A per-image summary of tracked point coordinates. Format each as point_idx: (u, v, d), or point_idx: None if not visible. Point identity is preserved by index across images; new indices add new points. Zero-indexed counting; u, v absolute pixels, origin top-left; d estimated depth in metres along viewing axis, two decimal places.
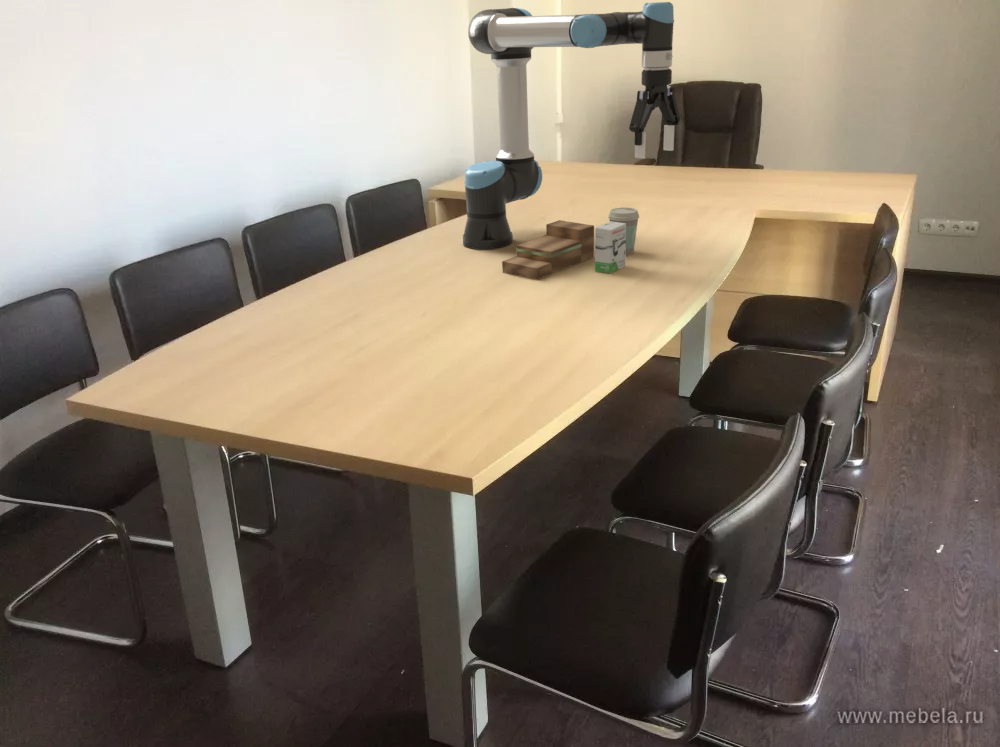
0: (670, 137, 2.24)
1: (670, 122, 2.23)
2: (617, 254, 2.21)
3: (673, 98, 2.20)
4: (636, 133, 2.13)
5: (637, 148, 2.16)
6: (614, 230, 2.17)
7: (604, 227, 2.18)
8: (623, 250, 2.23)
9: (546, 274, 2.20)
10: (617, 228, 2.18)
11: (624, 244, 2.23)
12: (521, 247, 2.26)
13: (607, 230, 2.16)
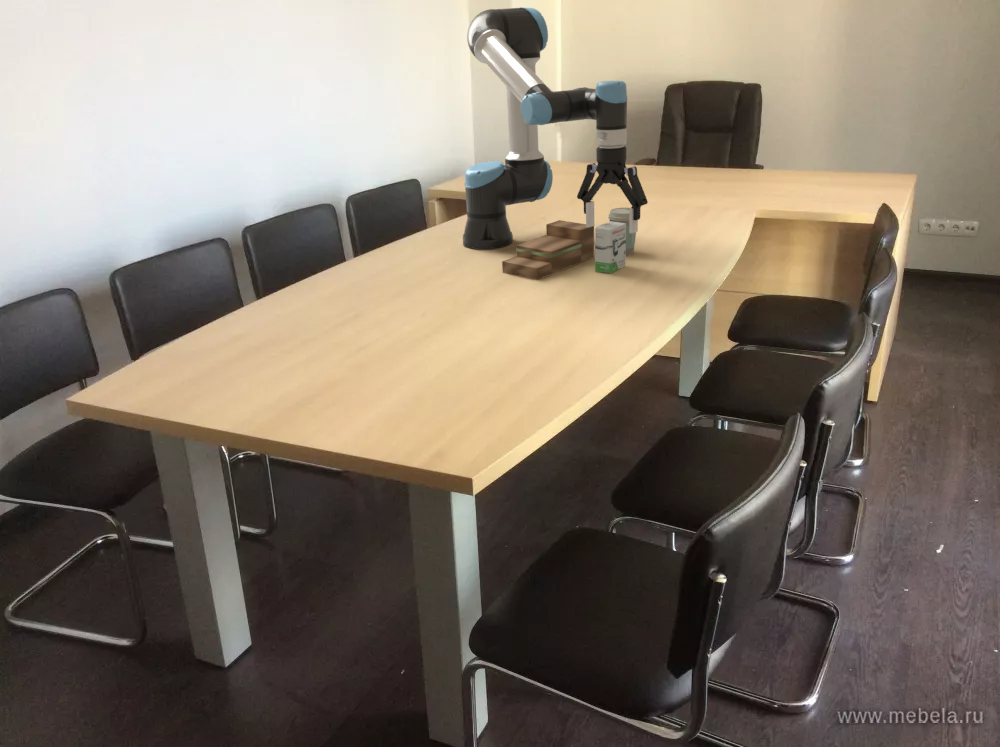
0: None
1: None
2: (617, 254, 2.21)
3: (630, 180, 2.10)
4: None
5: None
6: (614, 230, 2.17)
7: (604, 227, 2.18)
8: (623, 250, 2.23)
9: (546, 274, 2.20)
10: (617, 228, 2.18)
11: (624, 244, 2.23)
12: (521, 247, 2.26)
13: (607, 230, 2.16)
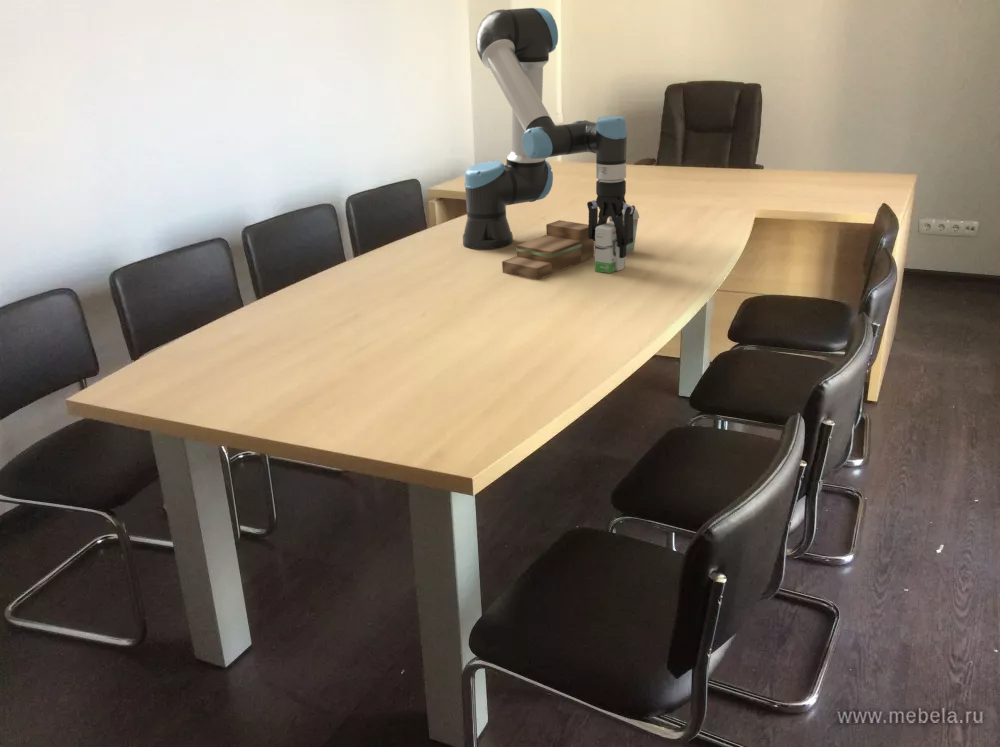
0: None
1: None
2: None
3: (625, 218, 2.14)
4: None
5: None
6: (614, 230, 2.17)
7: (604, 227, 2.18)
8: None
9: (546, 274, 2.20)
10: None
11: None
12: (521, 247, 2.26)
13: (607, 230, 2.16)
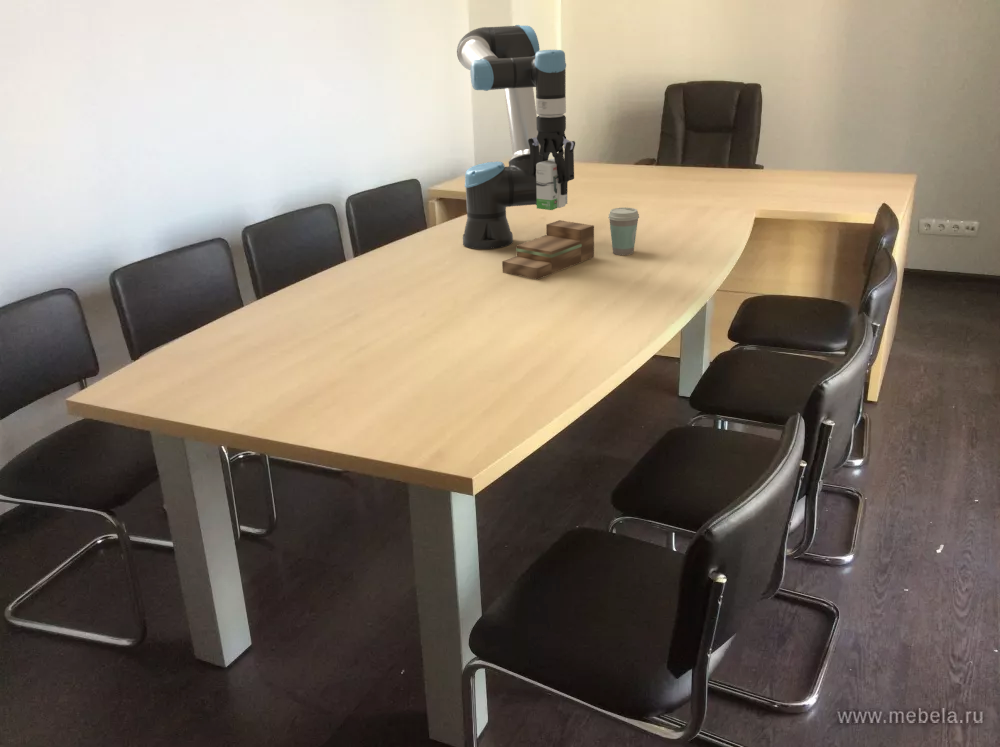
0: None
1: None
2: None
3: (565, 153, 2.14)
4: None
5: None
6: (555, 166, 2.17)
7: (545, 163, 2.17)
8: None
9: (546, 274, 2.20)
10: None
11: None
12: (521, 247, 2.26)
13: (547, 166, 2.16)
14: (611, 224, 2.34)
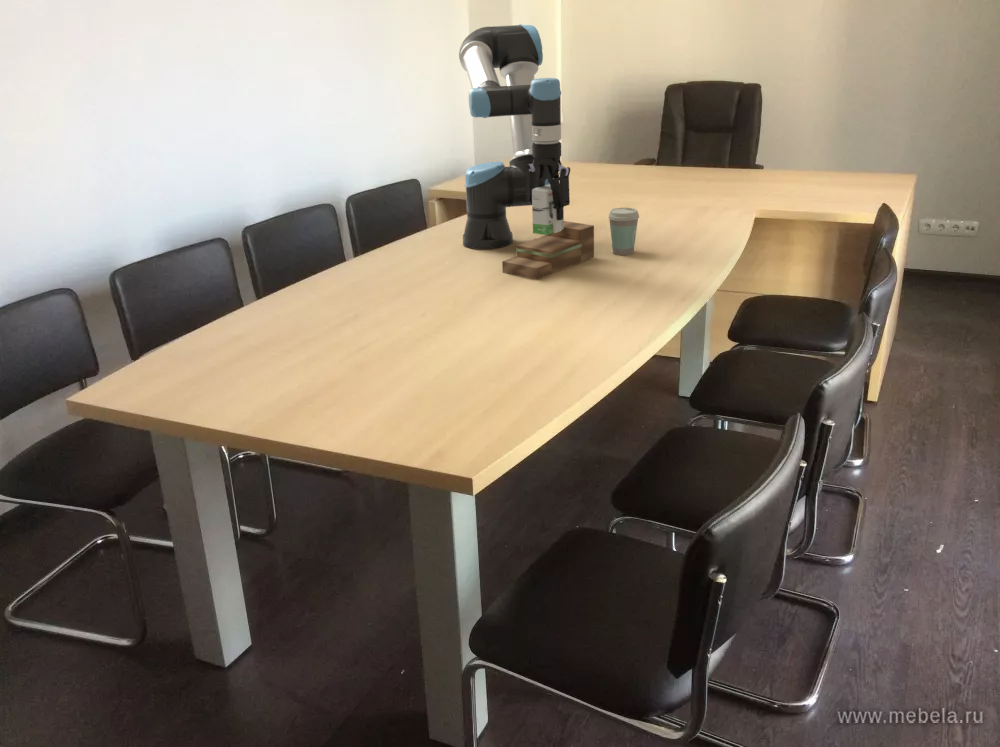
0: None
1: None
2: None
3: (560, 179, 2.17)
4: None
5: None
6: (550, 192, 2.19)
7: (540, 189, 2.20)
8: None
9: (546, 274, 2.20)
10: None
11: None
12: (521, 247, 2.26)
13: (543, 192, 2.18)
14: (611, 224, 2.34)
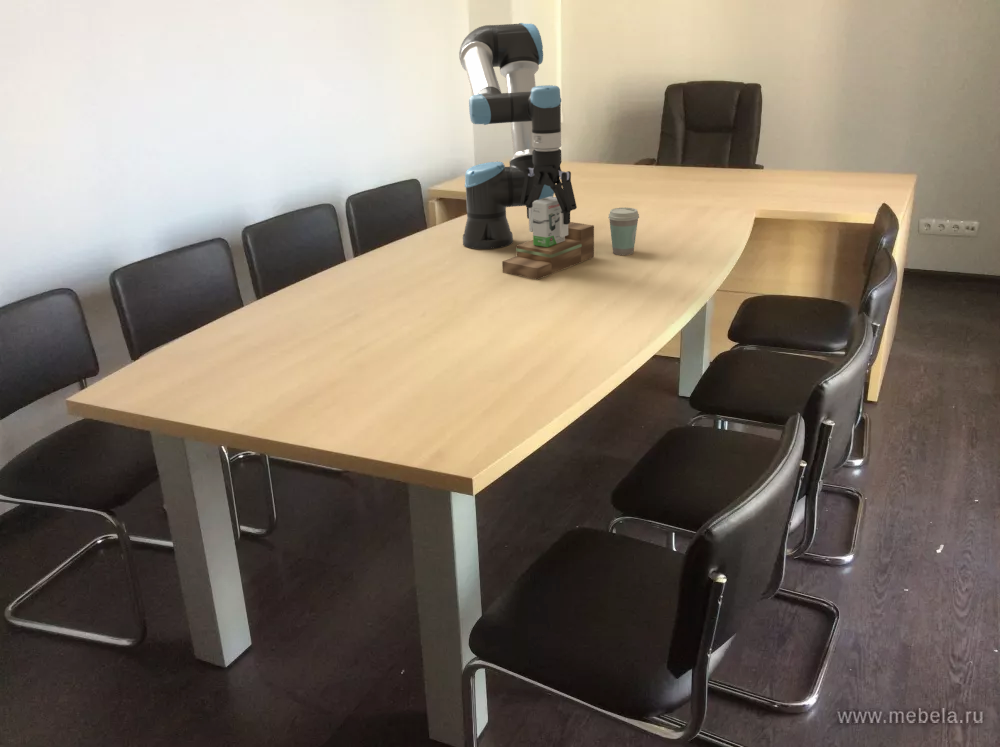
0: None
1: None
2: (555, 229, 2.24)
3: (563, 184, 2.17)
4: None
5: None
6: (551, 205, 2.20)
7: (541, 201, 2.21)
8: None
9: (546, 274, 2.20)
10: (554, 203, 2.21)
11: None
12: (521, 247, 2.26)
13: (543, 204, 2.20)
14: (611, 224, 2.34)
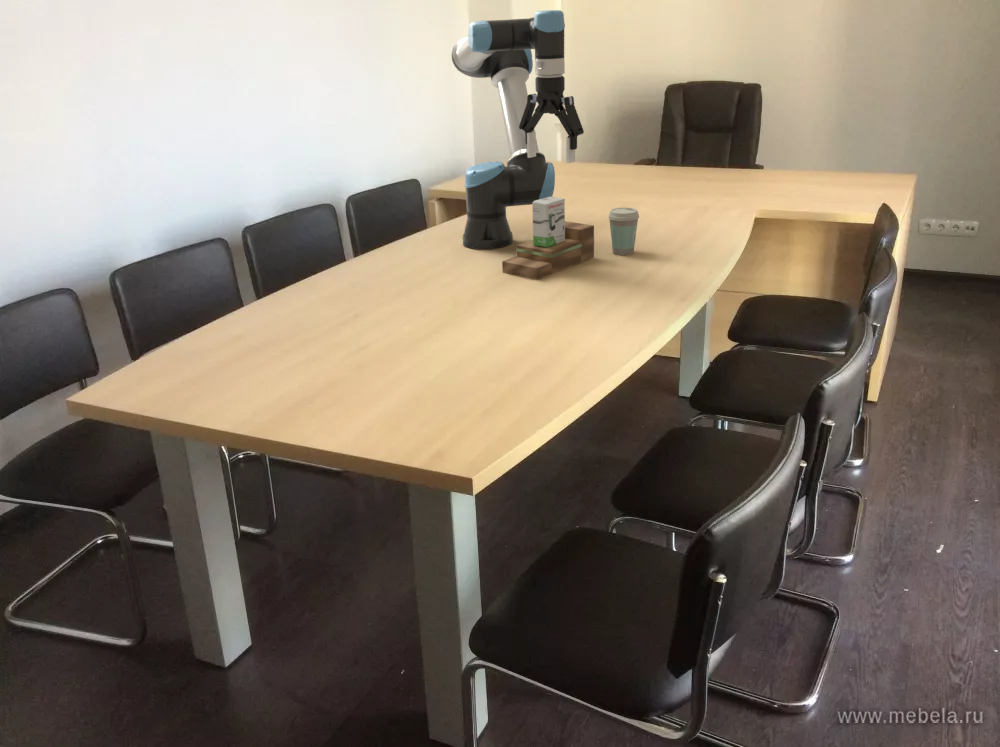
0: None
1: None
2: (555, 229, 2.24)
3: (566, 109, 2.14)
4: None
5: None
6: (551, 205, 2.21)
7: (541, 201, 2.21)
8: (562, 225, 2.26)
9: (546, 274, 2.20)
10: (554, 203, 2.21)
11: (563, 219, 2.26)
12: (521, 247, 2.26)
13: (543, 204, 2.20)
14: (611, 224, 2.34)
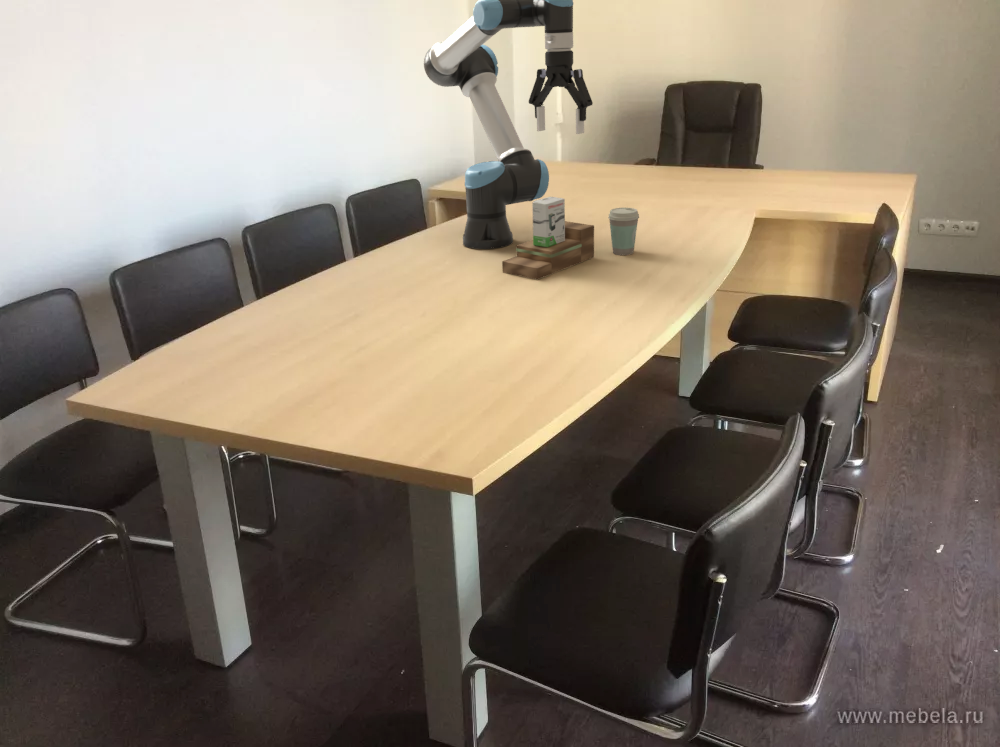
0: None
1: None
2: (555, 229, 2.24)
3: (576, 81, 2.23)
4: None
5: None
6: (551, 205, 2.21)
7: (541, 201, 2.21)
8: (562, 225, 2.26)
9: (546, 274, 2.20)
10: (554, 203, 2.21)
11: (563, 219, 2.26)
12: (521, 247, 2.26)
13: (543, 204, 2.20)
14: (611, 224, 2.34)
